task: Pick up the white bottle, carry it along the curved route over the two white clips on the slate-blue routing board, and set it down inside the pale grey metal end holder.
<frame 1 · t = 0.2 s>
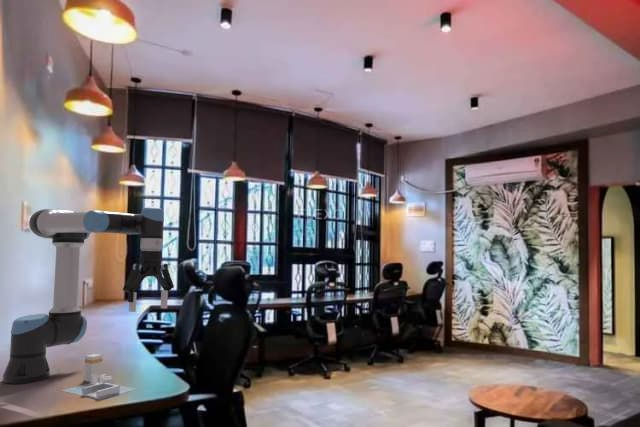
hand: (148, 310, 168), 27 cm above the table, fingers open, 13 cm apart
end holder: (100, 394, 154), resting on route board
clip1: (97, 384, 165), resting on route board
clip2: (106, 387, 161), resting on route board
route board: (98, 393, 159), on the table
white bottle: (92, 383, 171), on the table
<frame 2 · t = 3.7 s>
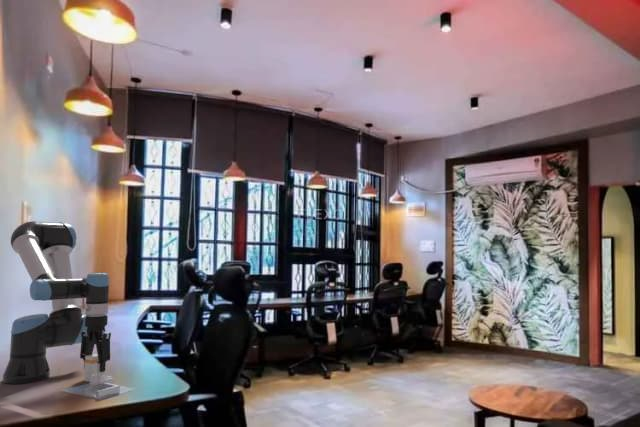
hand: (94, 379, 171), 1 cm above the table, fingers open, 6 cm apart
nothing on the table moved.
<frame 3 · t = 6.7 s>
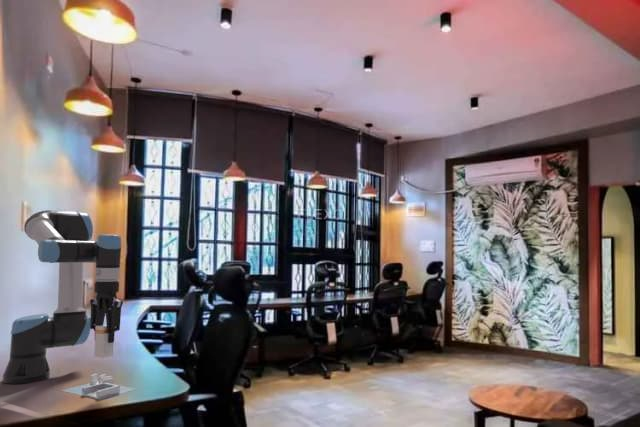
hand: (103, 351, 155), 15 cm above the table, fingers closed on white bottle, 4 cm apart
white bottle: (103, 356, 155), point 13 cm above the table, touching gripper
when the fingers open (5 cm above the table, at t = 9.1 s): white bottle drops 1 cm, resting on end holder.
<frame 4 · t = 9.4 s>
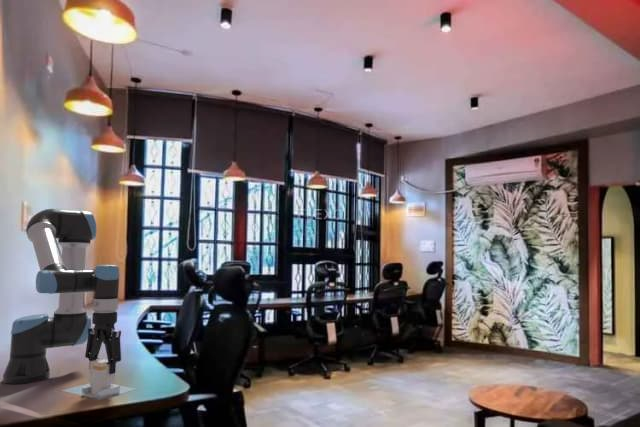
hand: (101, 382, 154), 5 cm above the table, fingers open, 7 cm apart
white bottle: (100, 392, 154), point 2 cm above the table, touching end holder
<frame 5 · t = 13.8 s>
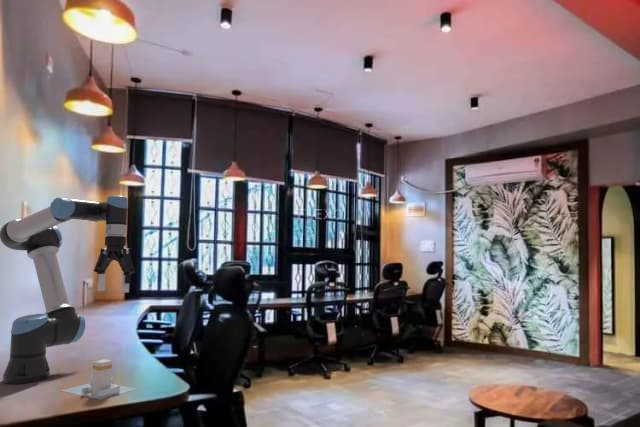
hand: (113, 291, 179), 33 cm above the table, fingers open, 13 cm apart
nothing on the table moved.
at the end: white bottle 0.1 cm off-centre on the end holder, point 0.6 cm above the end holder's base; white bottle tilted 0°; the gripper is holding nothing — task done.
